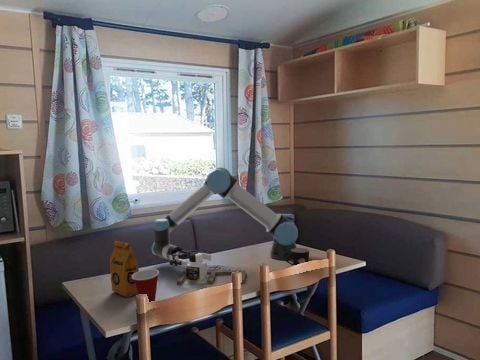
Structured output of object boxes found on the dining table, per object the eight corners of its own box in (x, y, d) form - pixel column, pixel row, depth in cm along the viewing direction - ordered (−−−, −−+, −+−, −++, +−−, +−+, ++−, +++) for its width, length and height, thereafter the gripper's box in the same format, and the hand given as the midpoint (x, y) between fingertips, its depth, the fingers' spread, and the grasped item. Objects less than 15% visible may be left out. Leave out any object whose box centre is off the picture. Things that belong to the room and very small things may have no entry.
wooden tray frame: (245, 273, 198) (245, 270, 198) (244, 283, 184) (244, 280, 184) (183, 274, 200) (183, 271, 200) (177, 284, 186) (176, 281, 185)
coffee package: (122, 299, 170) (119, 247, 168) (109, 292, 179) (105, 242, 177) (144, 293, 177) (141, 242, 175) (129, 286, 186) (126, 238, 184)
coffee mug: (311, 268, 201) (311, 248, 200) (307, 274, 193) (306, 253, 192) (288, 266, 206) (288, 246, 205) (283, 271, 198) (282, 251, 197)
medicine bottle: (186, 280, 190) (184, 254, 189) (194, 275, 197) (192, 250, 196) (199, 282, 187) (198, 256, 186) (207, 277, 194) (206, 251, 193)
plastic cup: (127, 303, 166) (125, 274, 165) (150, 295, 174) (148, 267, 173) (143, 309, 159) (141, 279, 157) (166, 301, 166) (164, 272, 165)
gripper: (194, 255, 214) (220, 263, 198) (151, 266, 198) (176, 275, 182) (193, 240, 213) (219, 247, 198) (150, 250, 197) (175, 258, 181)
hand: (198, 261), depth 190 cm, fingers open, 13 cm apart
